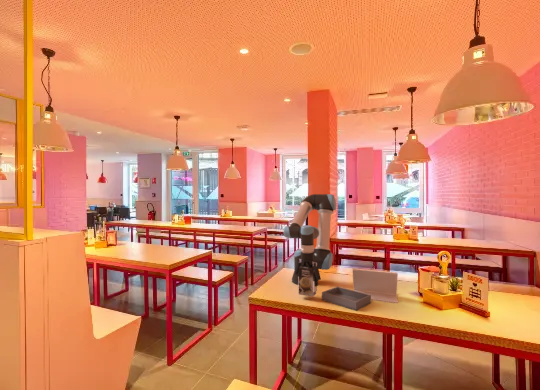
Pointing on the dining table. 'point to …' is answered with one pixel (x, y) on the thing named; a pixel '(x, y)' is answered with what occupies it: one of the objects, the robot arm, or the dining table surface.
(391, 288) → the tablet stand
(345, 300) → the tray
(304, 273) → the coffee box
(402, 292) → the dining table surface
